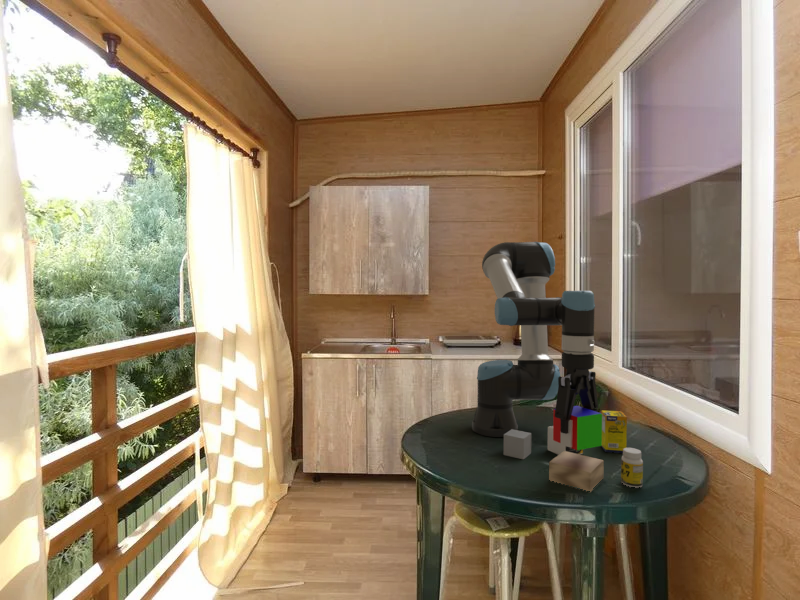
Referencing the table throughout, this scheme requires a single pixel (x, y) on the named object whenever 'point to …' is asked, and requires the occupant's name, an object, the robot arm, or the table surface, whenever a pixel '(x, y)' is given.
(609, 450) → the supplement box
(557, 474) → the oak block
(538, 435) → the table surface
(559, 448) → the medicine bottle
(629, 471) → the supplement bottle
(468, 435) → the table surface
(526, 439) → the grey block
